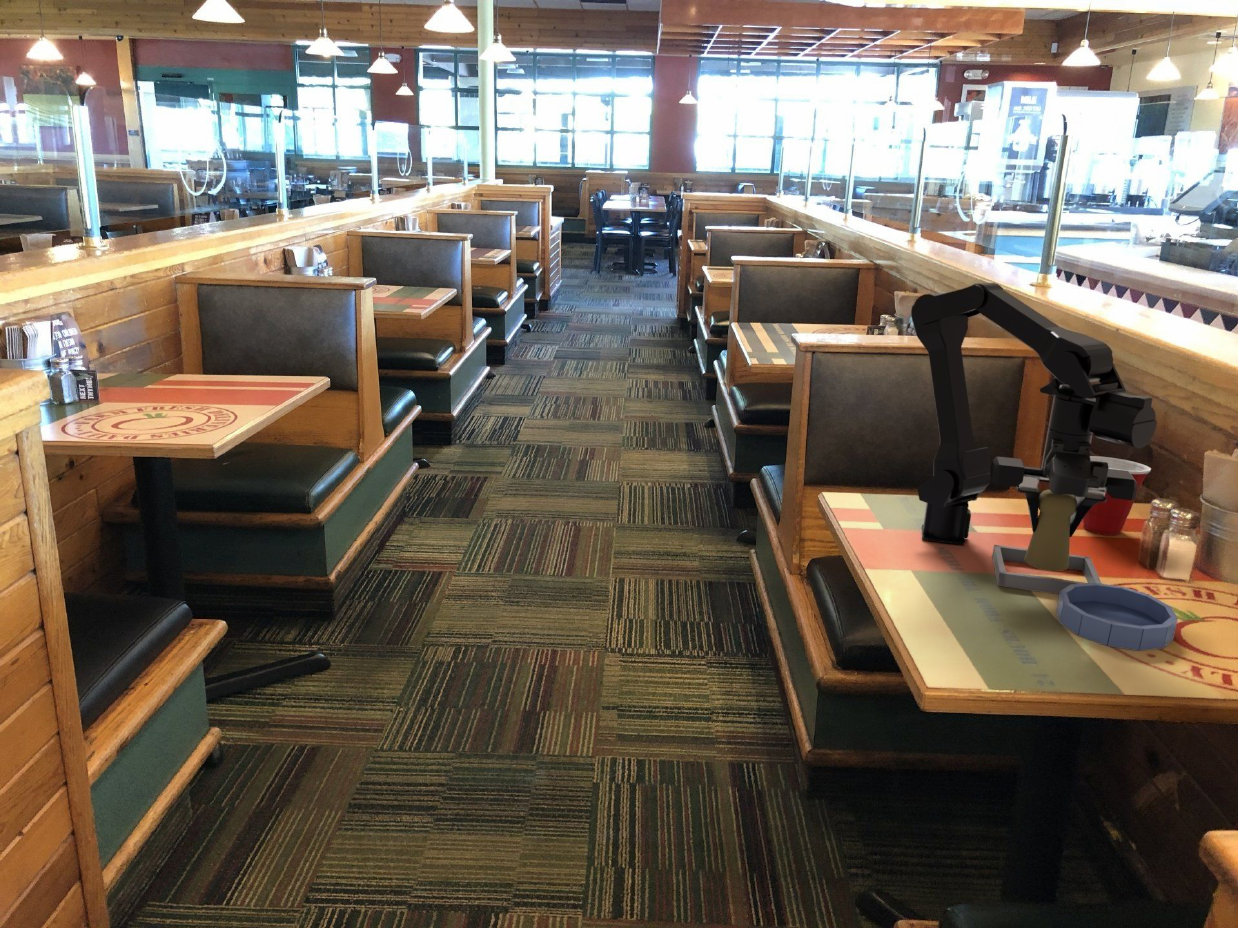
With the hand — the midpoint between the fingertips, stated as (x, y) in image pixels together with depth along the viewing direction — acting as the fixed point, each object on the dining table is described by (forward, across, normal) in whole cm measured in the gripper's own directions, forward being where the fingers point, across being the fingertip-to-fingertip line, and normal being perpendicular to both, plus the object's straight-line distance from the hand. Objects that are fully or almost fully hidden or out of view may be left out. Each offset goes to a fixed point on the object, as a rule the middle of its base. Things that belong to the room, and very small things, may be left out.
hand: (1051, 533), depth 142 cm
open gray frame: (+7, 0, 0) cm, 7 cm away
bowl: (+7, +7, -14) cm, 17 cm away
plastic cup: (+7, +12, +26) cm, 29 cm away
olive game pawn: (+5, 0, 0) cm, 5 cm away
